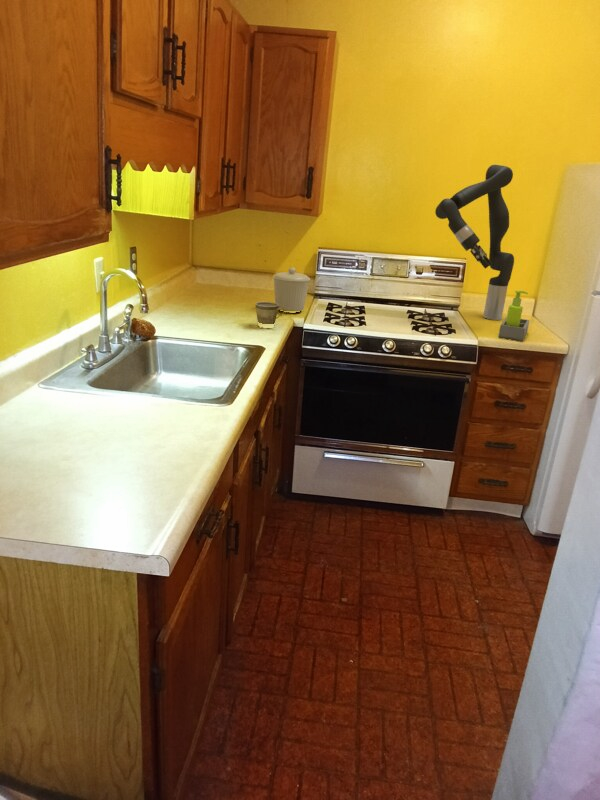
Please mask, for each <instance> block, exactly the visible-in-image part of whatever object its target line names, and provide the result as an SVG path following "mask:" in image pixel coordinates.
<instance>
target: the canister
mask: <svg viewBox="0 0 600 800" xmlns="http://www.w3.org/2000/svg"><path fill="white" fill-rule="evenodd" d="M272 278H273V286H274V287H273V288H274V290H273V291H274V303H277V304H279V308H283V309H284V311H302V310H303V311H304V308H305V304H306V299H307V293H308V289H309V283H310V281H311V278H310V277H309V276H308V275H306V274H304V273H299V272H296V268H295V267H289V268H288V269H287V272H283V271H282V272H278V273H275V274H274V275H272ZM279 310H282V309H279ZM303 311H302V312H303Z"/></svg>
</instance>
